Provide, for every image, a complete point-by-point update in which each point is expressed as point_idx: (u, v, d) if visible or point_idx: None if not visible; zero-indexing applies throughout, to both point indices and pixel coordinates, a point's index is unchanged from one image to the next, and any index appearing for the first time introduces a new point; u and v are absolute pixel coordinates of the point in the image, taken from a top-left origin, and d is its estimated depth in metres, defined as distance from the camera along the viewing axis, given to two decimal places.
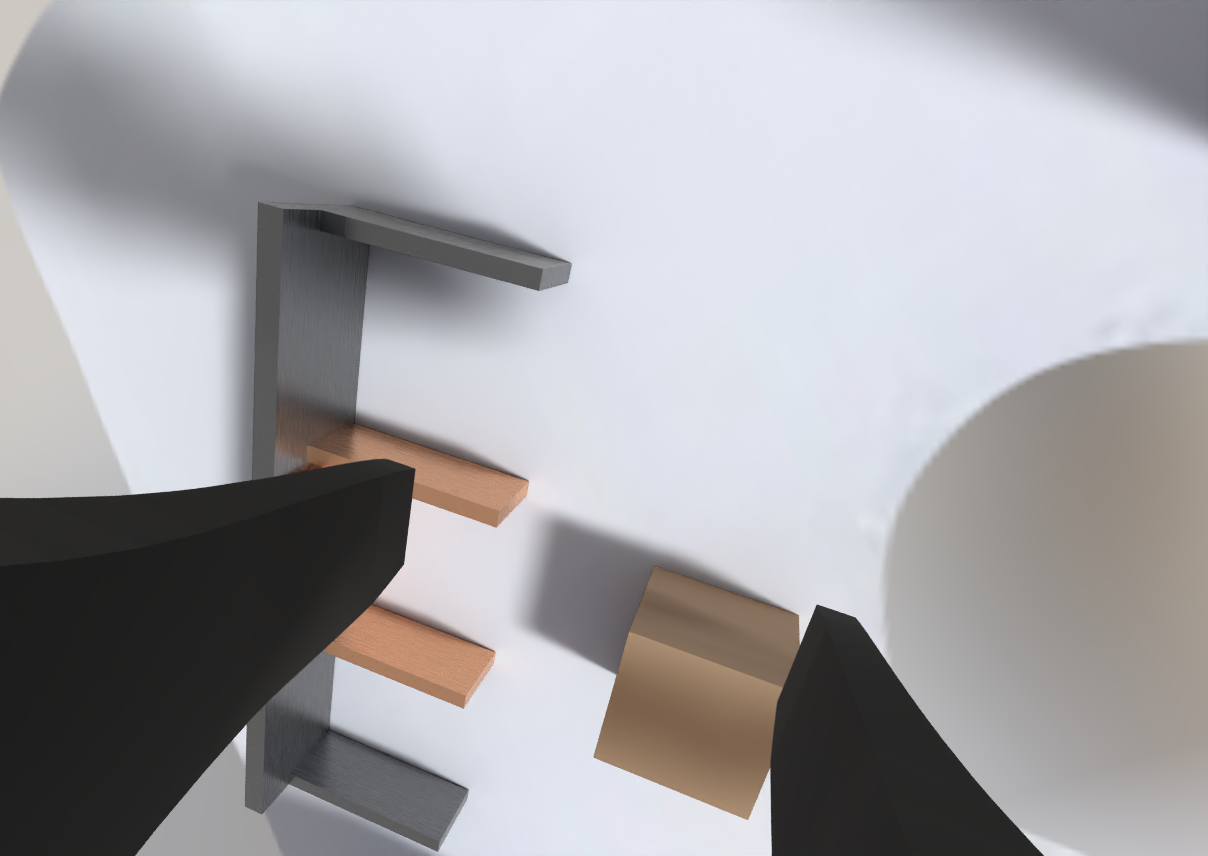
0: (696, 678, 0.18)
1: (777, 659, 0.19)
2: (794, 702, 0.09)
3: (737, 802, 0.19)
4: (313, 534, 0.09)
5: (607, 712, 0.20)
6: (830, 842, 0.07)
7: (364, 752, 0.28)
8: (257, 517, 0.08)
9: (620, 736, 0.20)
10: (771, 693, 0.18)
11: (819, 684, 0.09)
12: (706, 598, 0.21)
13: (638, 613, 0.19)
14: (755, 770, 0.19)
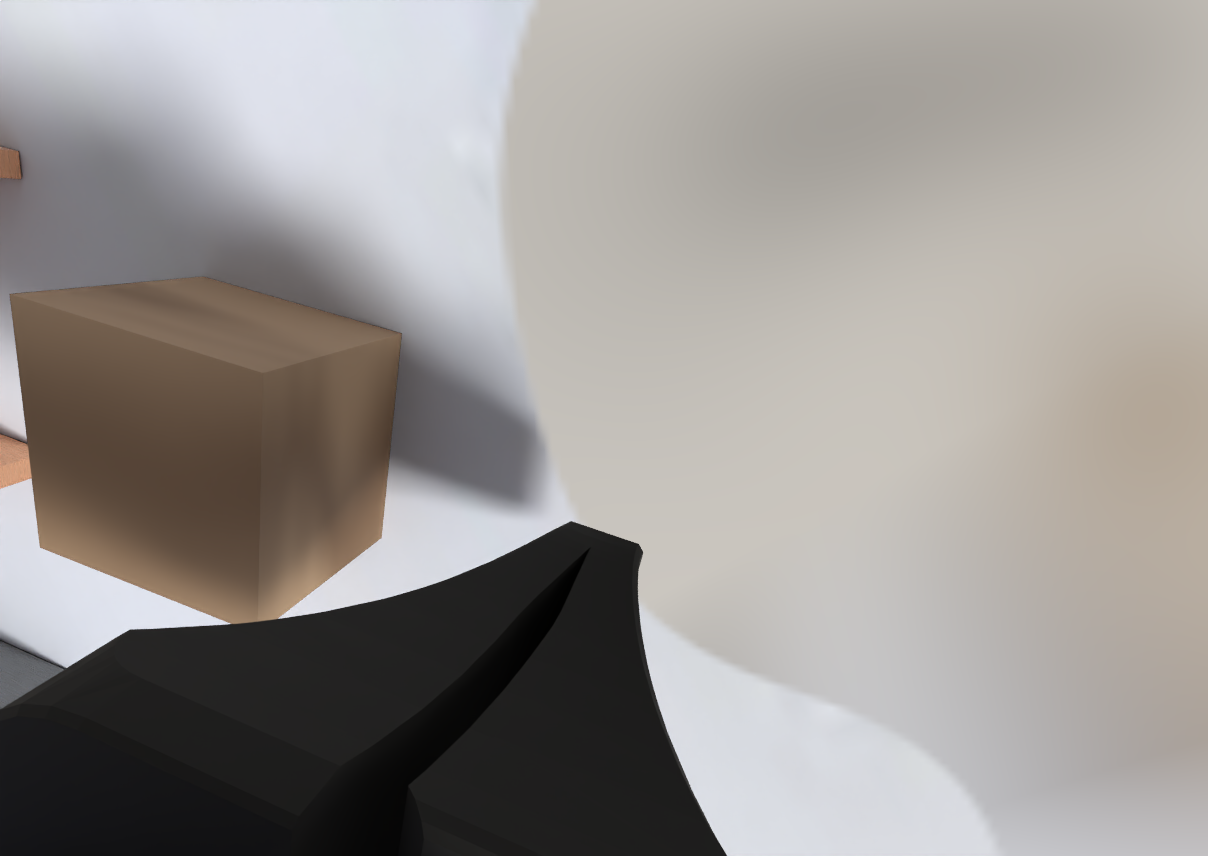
0: (119, 371, 0.11)
1: (279, 348, 0.11)
2: None
3: (235, 602, 0.11)
4: (544, 619, 0.08)
5: (30, 459, 0.12)
6: None
7: None
8: (520, 615, 0.07)
9: (59, 502, 0.12)
10: (223, 379, 0.10)
11: None
12: (248, 302, 0.13)
13: (72, 289, 0.12)
14: (242, 538, 0.11)
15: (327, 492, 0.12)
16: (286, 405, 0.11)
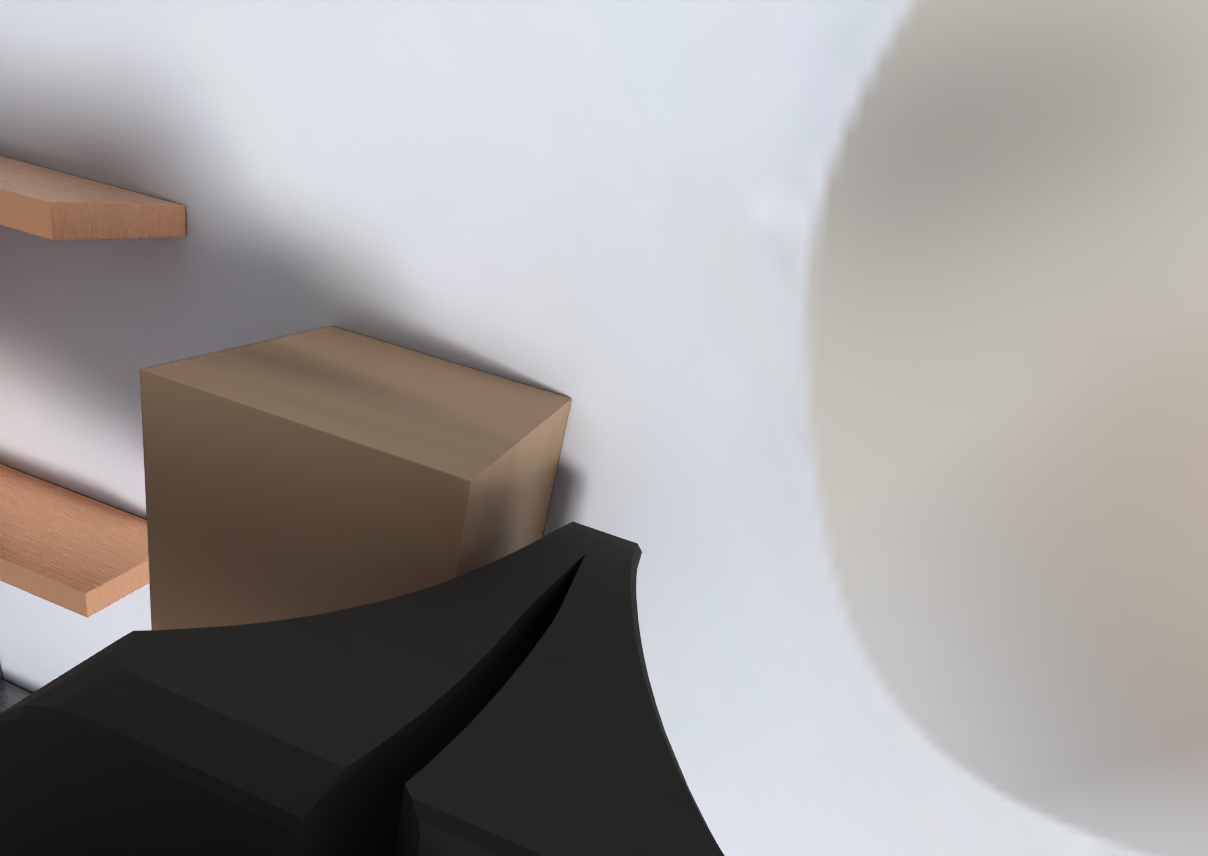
0: (276, 467, 0.09)
1: (464, 436, 0.09)
2: None
3: None
4: (546, 620, 0.08)
5: (149, 559, 0.10)
6: None
7: None
8: (522, 615, 0.07)
9: (182, 609, 0.10)
10: (416, 484, 0.08)
11: None
12: (392, 364, 0.11)
13: (203, 357, 0.10)
14: None
15: None
16: (481, 512, 0.09)
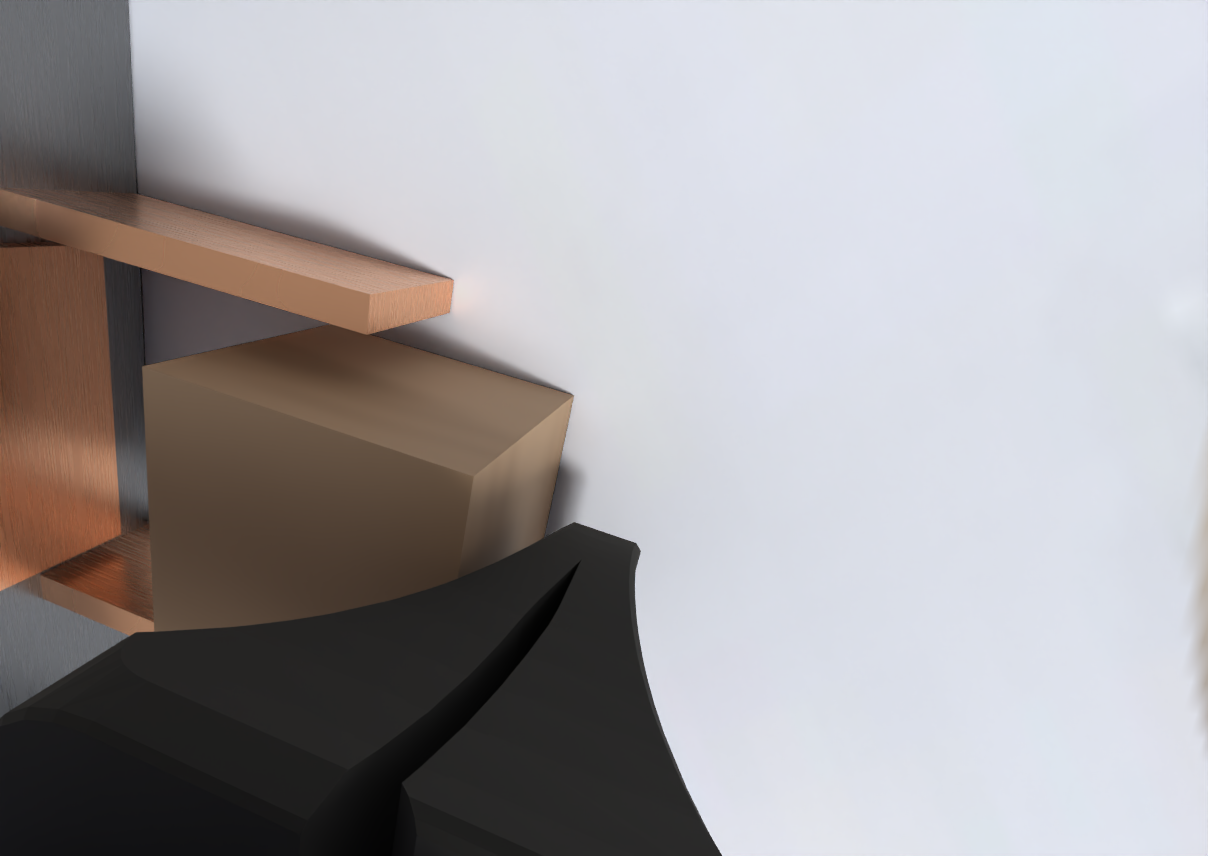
0: (279, 464, 0.09)
1: (467, 432, 0.09)
2: None
3: None
4: (548, 621, 0.08)
5: (151, 557, 0.10)
6: None
7: None
8: (524, 616, 0.07)
9: (185, 607, 0.10)
10: (419, 480, 0.08)
11: None
12: (394, 360, 0.11)
13: (205, 353, 0.10)
14: None
15: None
16: (484, 507, 0.09)
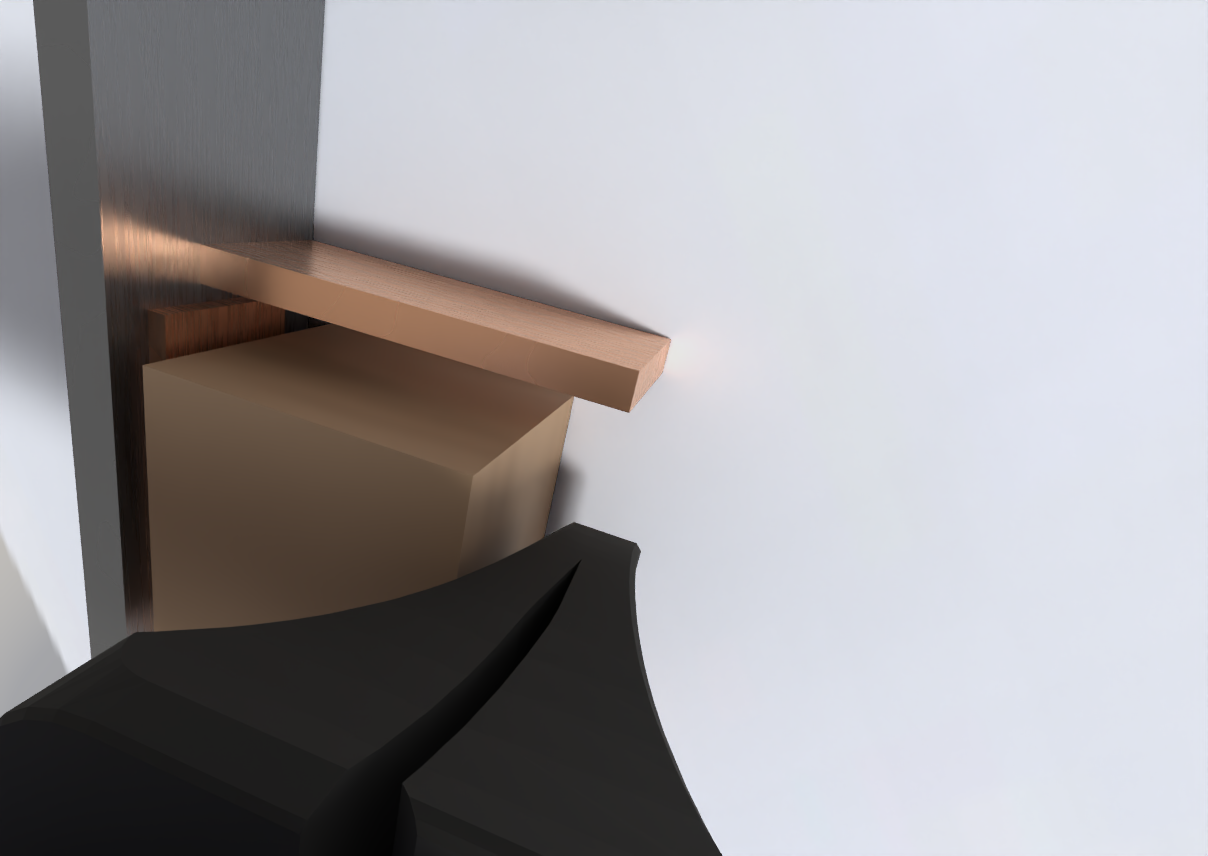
0: (278, 463, 0.09)
1: (467, 432, 0.09)
2: None
3: None
4: (547, 621, 0.08)
5: (151, 555, 0.10)
6: None
7: None
8: (524, 616, 0.07)
9: (185, 605, 0.10)
10: (418, 480, 0.08)
11: None
12: (395, 360, 0.11)
13: (206, 353, 0.10)
14: None
15: None
16: (484, 507, 0.09)
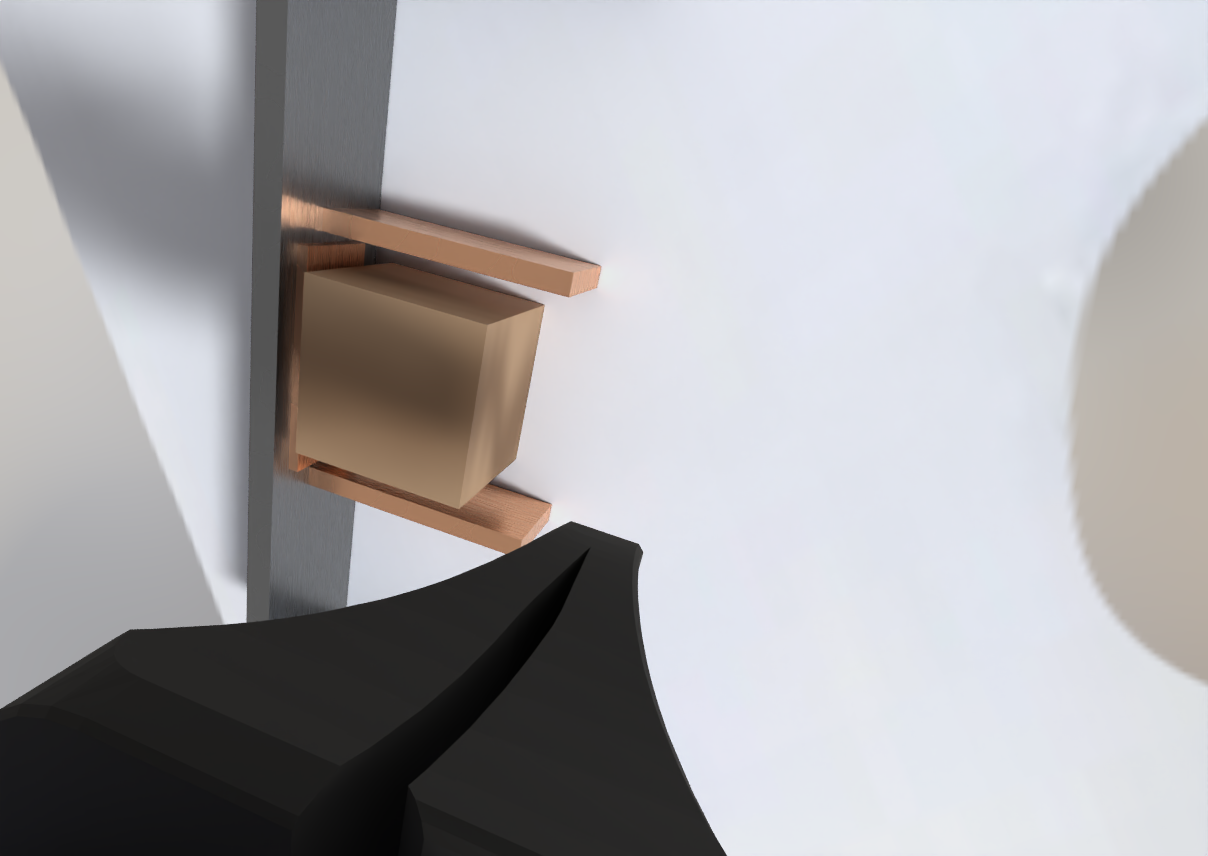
0: (380, 324, 0.16)
1: (482, 311, 0.16)
2: None
3: (445, 486, 0.17)
4: (543, 619, 0.08)
5: (299, 388, 0.17)
6: None
7: None
8: (520, 615, 0.07)
9: (317, 418, 0.17)
10: (458, 329, 0.15)
11: None
12: (436, 281, 0.18)
13: (332, 270, 0.17)
14: (457, 440, 0.16)
15: (499, 415, 0.18)
16: (492, 349, 0.16)
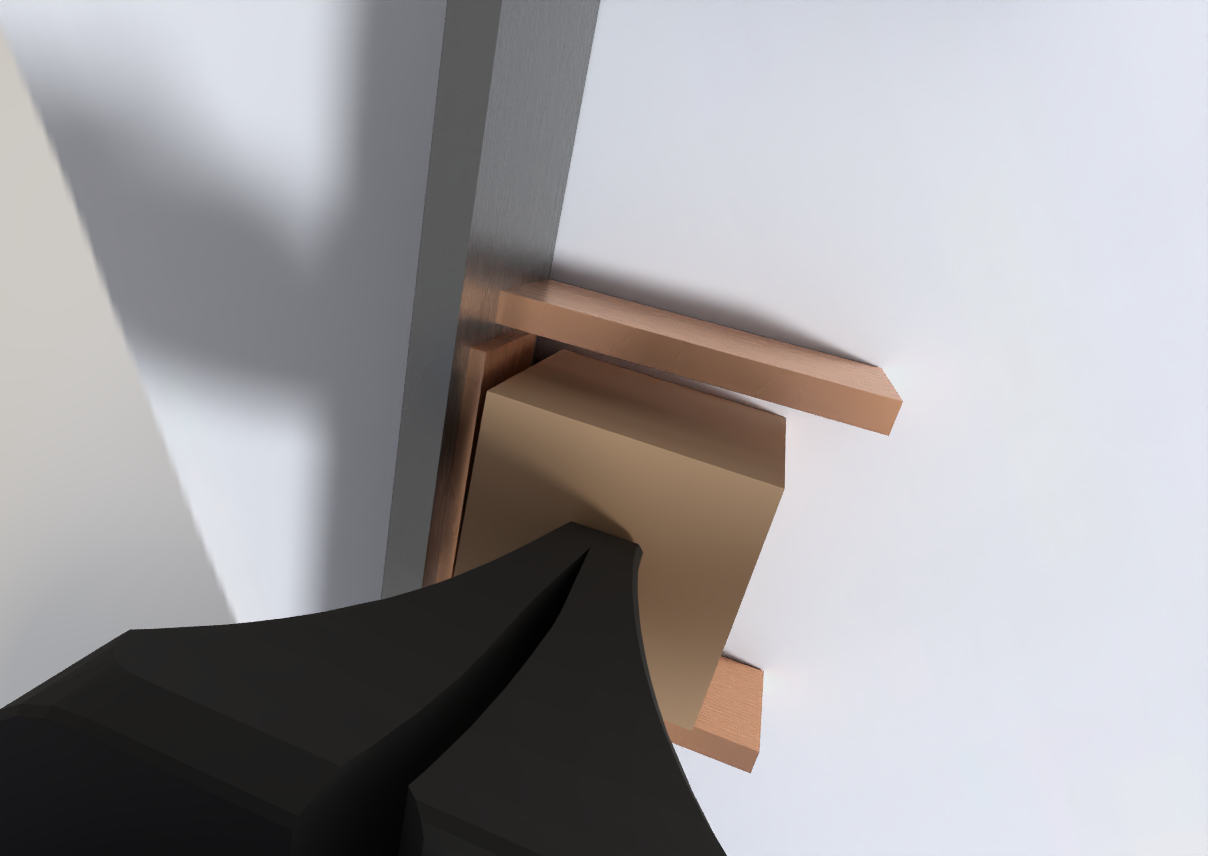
0: (602, 474, 0.10)
1: (746, 450, 0.11)
2: None
3: (674, 700, 0.11)
4: (543, 619, 0.08)
5: (460, 547, 0.12)
6: None
7: None
8: (520, 615, 0.07)
9: None
10: (732, 490, 0.10)
11: None
12: (638, 384, 0.13)
13: (513, 378, 0.11)
14: (704, 641, 0.11)
15: None
16: None
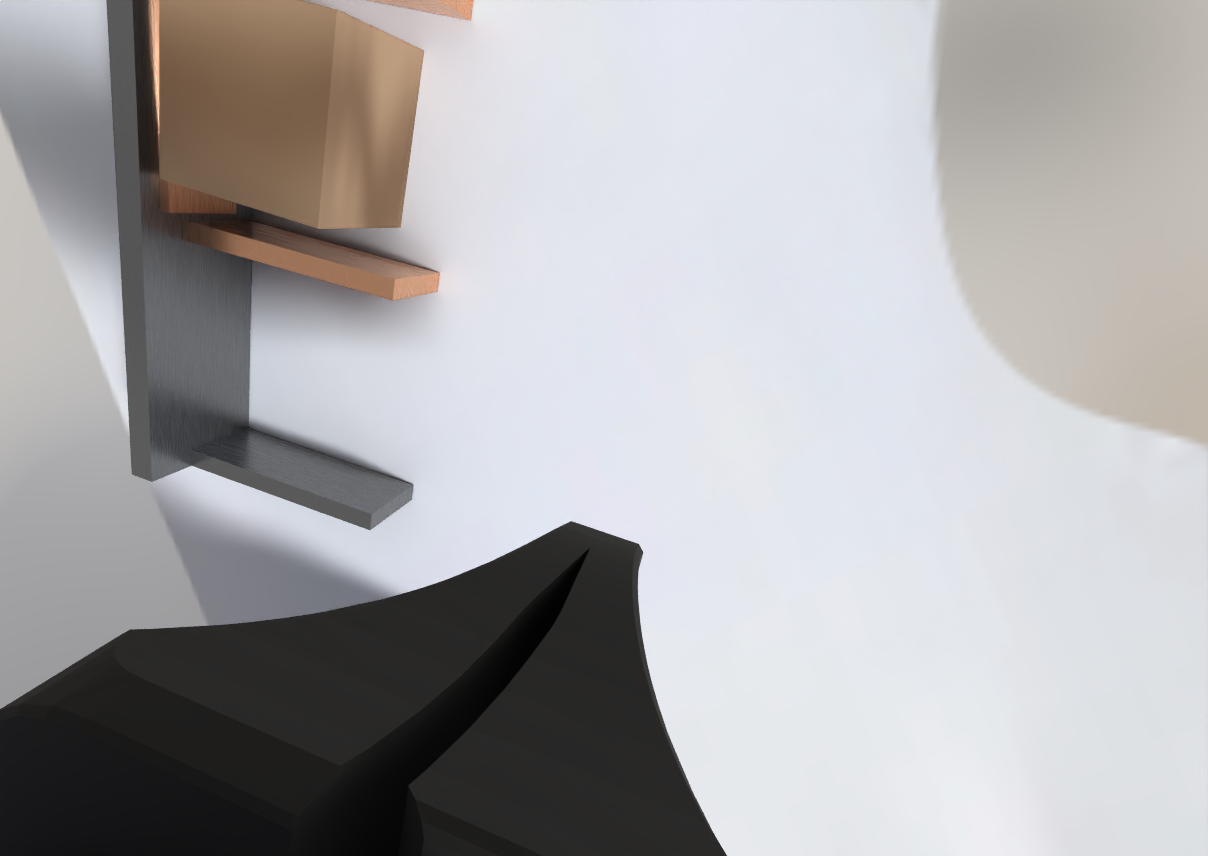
0: (234, 20, 0.15)
1: None
2: None
3: (303, 204, 0.16)
4: (544, 619, 0.08)
5: (159, 101, 0.17)
6: None
7: (289, 447, 0.23)
8: (520, 615, 0.07)
9: (178, 136, 0.17)
10: (309, 17, 0.15)
11: None
12: None
13: None
14: (313, 148, 0.16)
15: (367, 147, 0.17)
16: (348, 49, 0.16)
